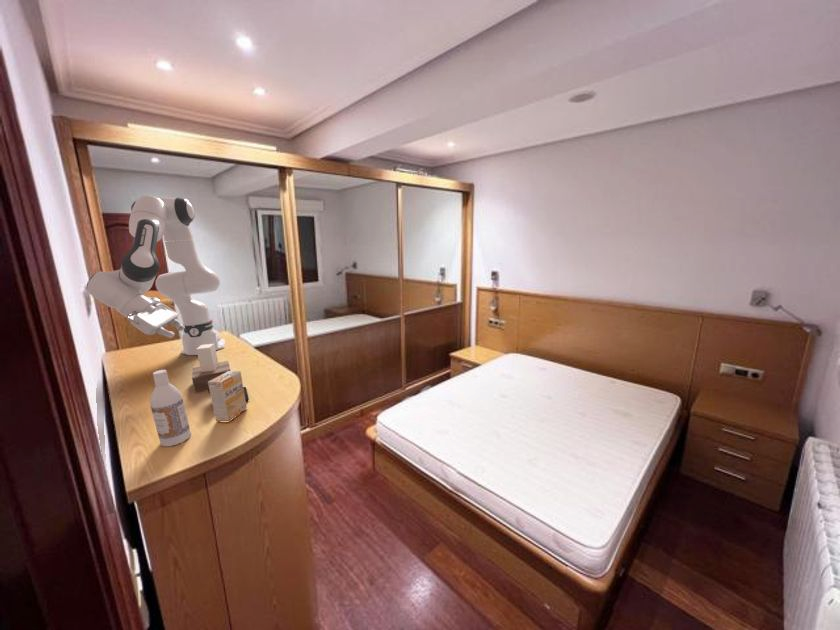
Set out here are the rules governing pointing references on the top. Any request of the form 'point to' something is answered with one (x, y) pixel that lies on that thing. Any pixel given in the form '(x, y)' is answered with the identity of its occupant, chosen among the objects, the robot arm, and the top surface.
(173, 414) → the bath foam
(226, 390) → the supplement box
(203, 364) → the cream block
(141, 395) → the top surface
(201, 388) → the walnut block
